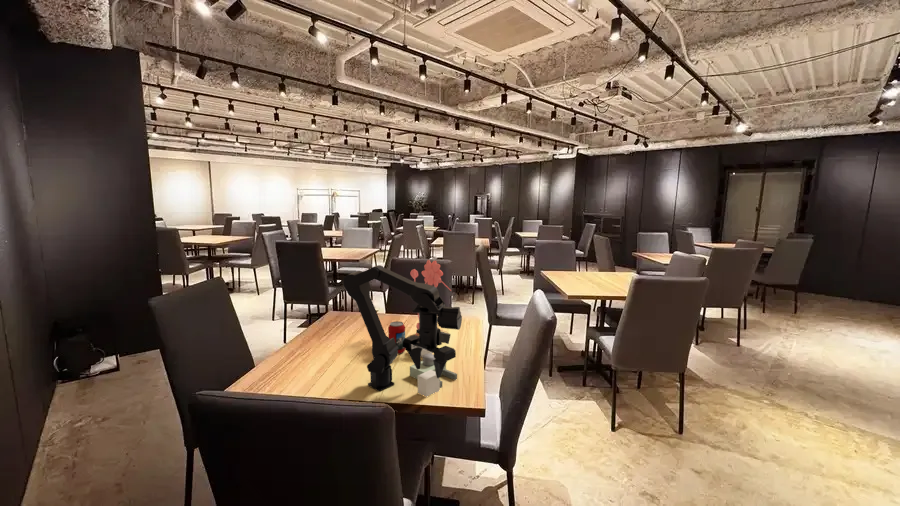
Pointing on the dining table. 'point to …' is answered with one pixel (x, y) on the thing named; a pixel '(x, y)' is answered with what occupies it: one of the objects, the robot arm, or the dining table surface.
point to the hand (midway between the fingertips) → (428, 373)
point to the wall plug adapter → (430, 368)
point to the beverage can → (397, 334)
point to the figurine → (430, 276)
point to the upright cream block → (428, 383)
